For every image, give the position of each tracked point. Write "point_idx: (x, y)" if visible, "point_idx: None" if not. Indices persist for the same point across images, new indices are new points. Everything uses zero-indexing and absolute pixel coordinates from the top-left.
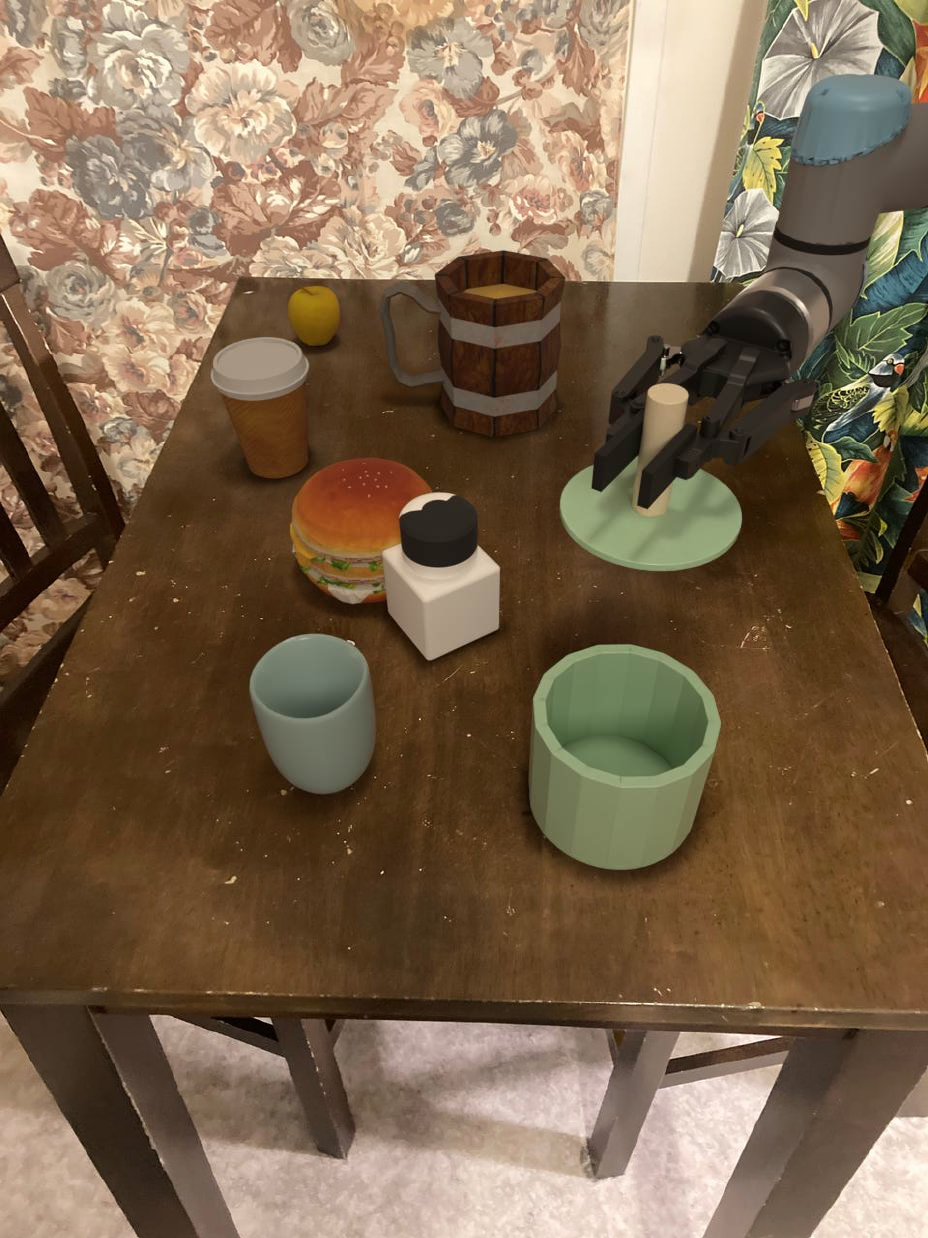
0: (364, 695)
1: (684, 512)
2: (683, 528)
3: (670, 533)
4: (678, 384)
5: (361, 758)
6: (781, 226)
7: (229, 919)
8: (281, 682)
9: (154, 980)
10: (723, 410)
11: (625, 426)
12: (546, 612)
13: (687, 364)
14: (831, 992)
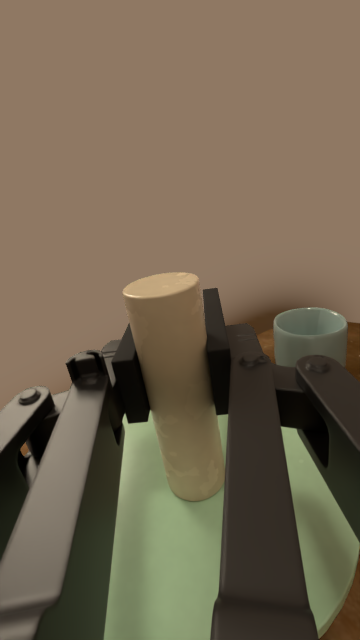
0: (278, 334)
1: (143, 494)
2: (133, 463)
3: (146, 445)
4: (225, 464)
5: None
6: None
7: (265, 347)
8: (330, 332)
9: (264, 332)
10: (65, 432)
11: (220, 317)
12: (353, 631)
13: (284, 612)
14: (24, 446)
